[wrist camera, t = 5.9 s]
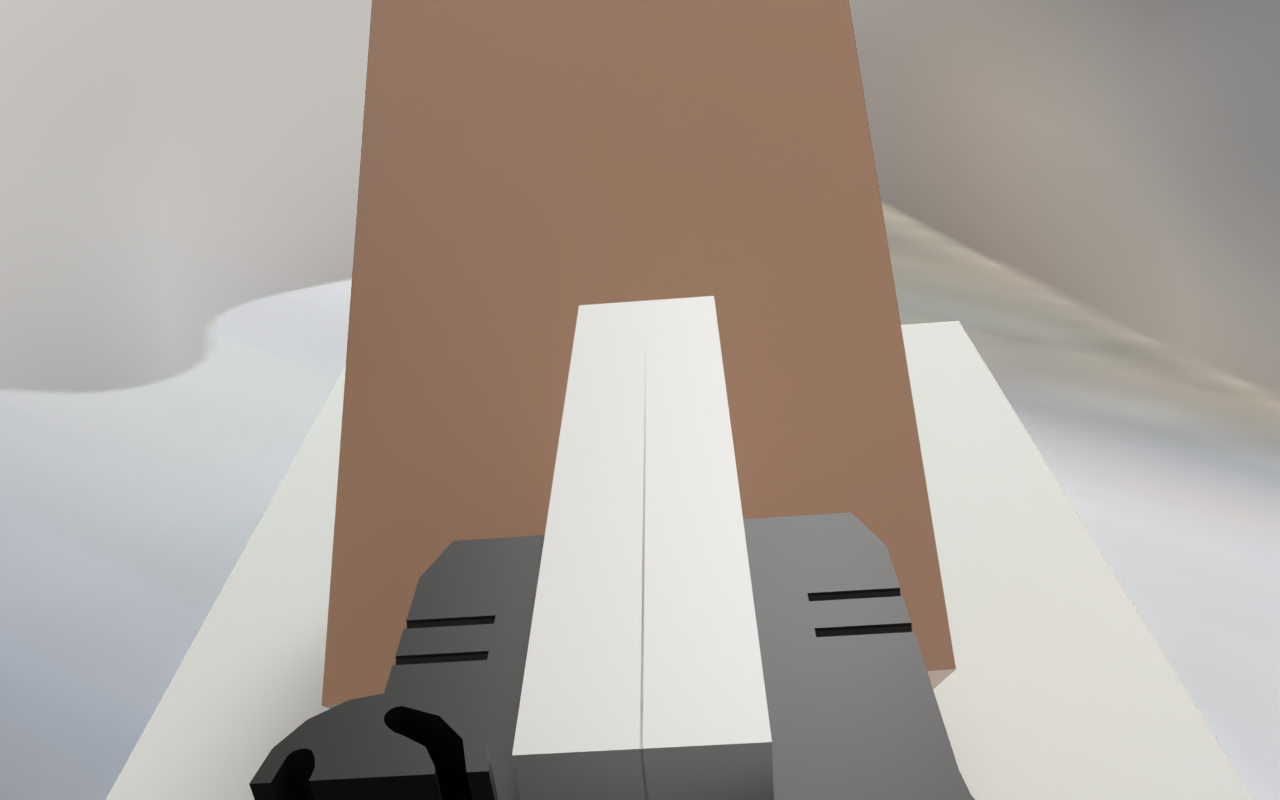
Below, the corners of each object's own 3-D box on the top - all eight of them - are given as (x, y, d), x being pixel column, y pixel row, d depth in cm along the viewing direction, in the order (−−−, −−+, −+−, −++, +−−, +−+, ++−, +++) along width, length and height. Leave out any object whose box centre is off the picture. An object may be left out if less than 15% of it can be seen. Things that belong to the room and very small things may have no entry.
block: (320, 705, 14) (373, -12, 19) (394, 736, 17) (422, 115, 22) (956, 669, 14) (840, -51, 18) (911, 707, 17) (823, 82, 21)
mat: (-18, 1054, 13) (-28, 1040, 13) (348, 374, 29) (345, 363, 29) (1358, 995, 12) (1364, 979, 12) (957, 331, 28) (958, 321, 28)
